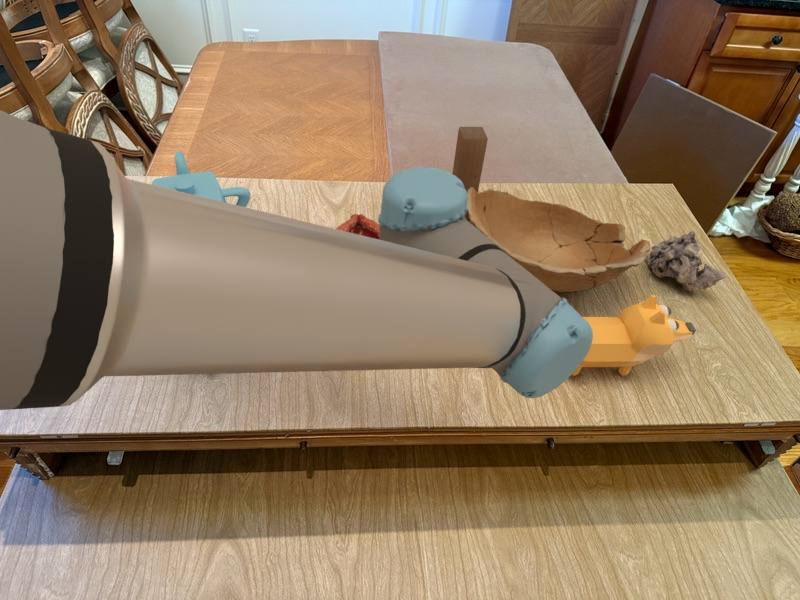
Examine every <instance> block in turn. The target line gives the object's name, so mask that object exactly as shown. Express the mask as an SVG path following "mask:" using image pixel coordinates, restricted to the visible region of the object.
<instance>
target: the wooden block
mask: <svg viewBox="0 0 800 600" xmlns="http://www.w3.org/2000/svg"><path fill="white" fill-rule="evenodd" d="M487 145H488V135H487V133H486V132H485V129H484V128H483V126H459V127H458V130H457V137H456V146H455V153H454V160H453V167H452V172H451V174H453V175H455V176H456V177H458V178H459V179H460V180H461V181H462V183H463V185H464V187H465V190H466V192H467V191H468V189H469V188H471V187H473V188H474V189H475V191H477V193H479V190H480V189H479V188H480V183H481V178H482V172H483V166H484V161H485V157H486V151H487ZM465 217H466V220H467V221H468V222H469V223H470V218H469V214H468V210H467V212H466V214H465Z"/></svg>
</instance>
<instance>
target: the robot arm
mask: <svg viewBox="0 0 800 600" xmlns="http://www.w3.org/2000/svg"><path fill="white" fill-rule="evenodd" d="M467 210H468V207H467V192H466V190H465V187H464V185H463V183H462V181H461V180H460V179H459V178H458V177H456V176H455V175H453V174H452V172H450V171H446V170H444V169H441V168H437V167H430V166H414V167H410V168H408V169H405V170H400V171H398V172H396V173H395V174H393V175H392V176H391V177H389V178H388V180H387V181H386V182H385V184H384V186H383V189H382V197H381V206H380V213H379V215H378V218H377V219H378V224H379V240H378V239H374V238H370V237H366V236H362V235H358V234H354V233H350V232H345V231H341V230H337V229H336V228H333V227H329V226H325V225H320V224H317V223H311V222H308V221H304V220H299V219H296V218H291V217H287V216H283V215H279V214H274V213H270V212H267V211H263V210H258V209H255V208H251V207H247V206H246V207H242V206H238V205H236V204H233V203H229V202H227V203H225V202H221V201H217V200H213V199H209V198H205V197H201V196H196V195H192V194H188V193H184V192H180V191H176V190H172V189H167V188H163V187H159V186H155V185H152V183H147V182H142V181H138V180H134V179H130V178H127V176H125V174H124V173H123V171H122V170H121V168H120V167H119V166H118V164H117V163H116V162H115V160H114V158H113V157H112V156H111V154H110V153H109V152H108V150H107V149H106V148H105V147H104V146H103V145H102V144H101V143H100V142H97V141H94V140H91V139H87V138H84V137H80V136H77V135H73V134H70V133H66V132H62V131H59V130H54V129H51V128H47V127H45V126H42V125H39V124H37V123H33V122H30V121H28V120H25V119H23V118H20V117H17V116H15V115H12V114H10V113H8V112H6V111H3V110H1V109H0V411H6V410H7V411H8V410H25V409H43V408H58V407H60V408H61V407H68V406H71V405H73V404H74V403H76V402H78V400H80V398H82V397H84V395H85V394H86V393H88V391H90V389H91V388H92V387H94V386H95V385H96V384H97V383H98V382H100V381H101V379H102V378H104V377H138V376H139V377H140V376H142V377H143V376H178V375H179V376H181V375H185V376H186V375H220V374H221V375H222V374H223V375H226V374H262V373H263V374H264V373H266V374H267V373H302V372H303V373H305V372H306V373H307V372H308V373H310V372H348V371H349V372H351V371H389V370H390V371H391V370H395V371H396V370H432V369H433V370H435V369H439V370H440V369H492V370H494V371H495V373H497V375H498V376H499V377H500V380H501V381H502V382H503V383H505V384H508V385H509V386H510V387H511V388H512V389H513V390H514V391H516V392H517V393H518V394H519V395H521V396H522V397H524V398H527V399H535V398H536V399H537V398H540V397H543V396H545V395H547V394H549V393H551V392H553V391H554V390H555V389H557V388H558V387H559V386H561V385H562V384H563V383H565V381H567V380H568V379H569V378H570V377H571V376H572V375H571V374H572V373H573V372H574V371H575V370H576V369H577V368H578V366H579V365H580V364H581V363H582V361H583V360H584V358H585V357H586V355H587V353H588V351H589V349H590V347H591V344H592V340H593V332H592V328H591V326H590V324H589V323H588V322H587V321H586V320H585V319H584V318H583V317H584V316H582V315H581V314H580V313H579V312H578V311H577V310H576V309H575V308H574V307H573V306H572V305H571V304H570V303H569V302H568V300H567V299H566V298H565V297H561V296H560V295H559V294H557V293H556V292H555V291H552V290H551V289H549V288H548V287H547V286H546V285H544V284H543V283H542V282H541V281H540V280H538V279H537V278H536V277H535V276H533V275H532V274H531V273H530V272H528V271H527V270H526V269H525V268H523V267H522V266H521V265H520V264H518V263H517V262H516V261H515V260H513V259H512V258H511V257H510V256H508V255H507V254H506V253H505V252H504V251H503V250H502V249H501V248H500V247H499V246H498V245H496V244H495V243H494V242H493V241H491V240H490V239H489V238H488V237H487V236H485V235H484V234H483V233H482V232H480V231H479V230H478V229H477V228H476V227H474V226H473V225H472V224H471V223H470V222H468V221H467V220H466V217H465V214H466V212H467Z"/></svg>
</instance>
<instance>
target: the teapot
mask: <svg viewBox="0 0 800 600" xmlns="http://www.w3.org/2000/svg"><path fill="white" fill-rule="evenodd" d="M174 162H175V172H176V173H175V174H176V175H170V176H163V177H158V178H153V180H152V182H151V185H155V186H159V187H163V188H167V189H172V190H176V191H180V192H184V193H188V194H192V195H196V196H201V197H205V198H209V199H213V200H217V201H221V202H225V203H228V202H227V200H226V198H230V197H237V201H236V204H235V205H238V206H242V207H246V208H247V206H248V205H249V202H250V201H251V196H252V195H251V192H250V190H249V188H246V187H241V186H236V187H234V186H233V187H227V188H221V186H220V183H219V180H218V179H217V177H216V174H215V173H214V172H213V171H211V170H207V171H198V172H190V170H189V167H188V164H187V162H186V157H185V155H184V153H183V151H180V150H178V151H176V152H175V153H174Z"/></svg>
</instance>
